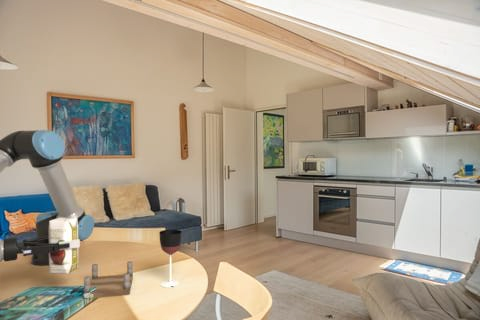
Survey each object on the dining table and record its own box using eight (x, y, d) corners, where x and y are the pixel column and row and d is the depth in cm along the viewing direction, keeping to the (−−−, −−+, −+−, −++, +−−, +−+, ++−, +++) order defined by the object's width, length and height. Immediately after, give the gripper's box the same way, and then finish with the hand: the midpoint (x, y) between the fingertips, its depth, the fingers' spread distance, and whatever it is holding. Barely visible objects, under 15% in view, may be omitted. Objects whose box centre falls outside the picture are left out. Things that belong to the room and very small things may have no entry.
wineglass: (171, 289, 120) (171, 235, 120) (154, 284, 124) (154, 232, 124) (185, 282, 127) (186, 231, 127) (169, 278, 131) (169, 228, 131)
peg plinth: (92, 282, 127) (92, 264, 127) (132, 278, 131) (132, 261, 131) (83, 299, 111) (83, 278, 111) (129, 294, 115) (129, 275, 115)
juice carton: (59, 266, 123) (59, 216, 123) (81, 267, 122) (80, 217, 122) (46, 274, 116) (45, 220, 115) (68, 274, 115) (68, 221, 114)
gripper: (4, 253, 118) (73, 243, 130) (1, 271, 100) (82, 257, 112) (4, 232, 117) (73, 224, 130) (1, 246, 100) (82, 236, 112)
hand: (77, 240), depth 121 cm, fingers closed on juice carton, 9 cm apart
